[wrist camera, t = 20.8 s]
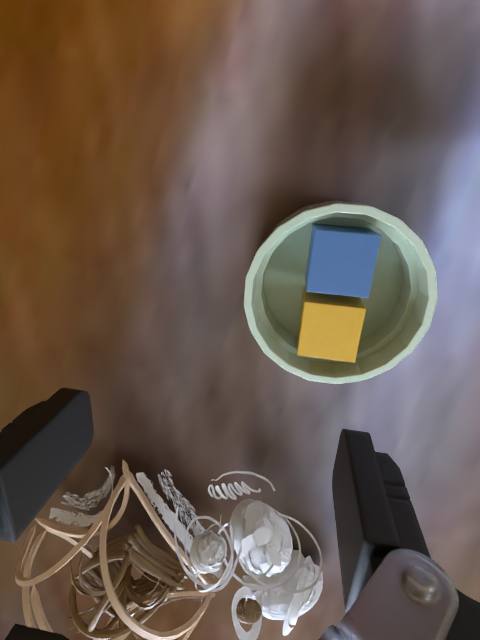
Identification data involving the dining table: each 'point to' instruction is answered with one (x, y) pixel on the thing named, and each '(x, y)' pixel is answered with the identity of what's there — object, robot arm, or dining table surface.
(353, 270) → the blue cube
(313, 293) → the mustard cube
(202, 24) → the dining table surface
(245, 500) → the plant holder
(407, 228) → the bowl
